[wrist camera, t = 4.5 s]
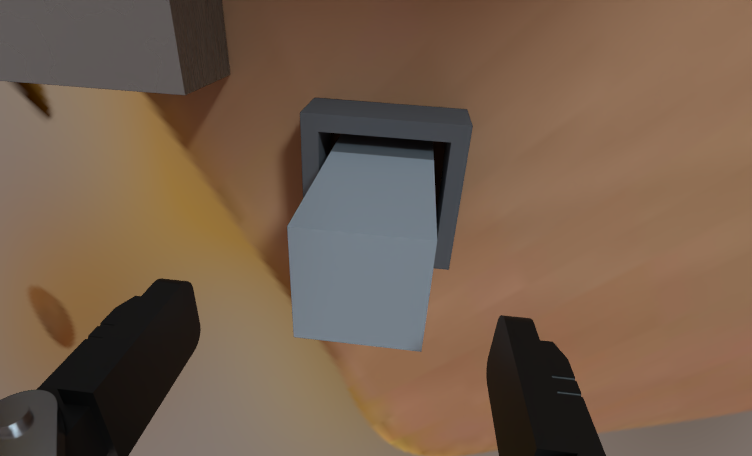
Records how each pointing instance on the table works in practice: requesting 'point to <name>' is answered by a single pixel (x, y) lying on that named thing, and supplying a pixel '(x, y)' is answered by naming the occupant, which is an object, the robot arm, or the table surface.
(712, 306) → the table surface
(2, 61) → the port panel
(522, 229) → the table surface
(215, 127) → the table surface
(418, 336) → the plug
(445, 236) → the dark grey square frame
